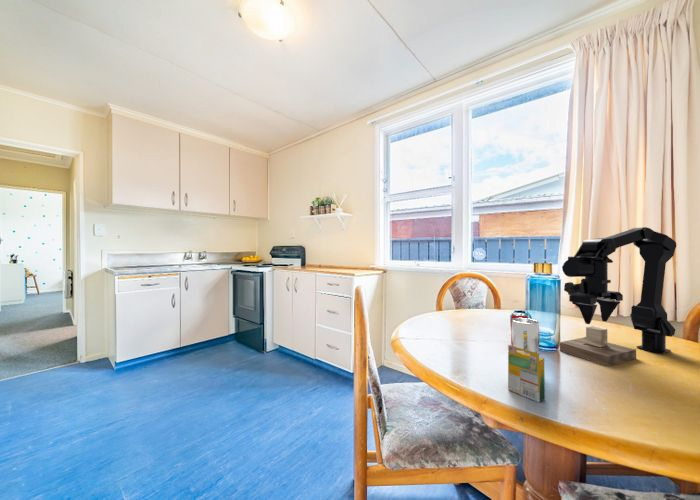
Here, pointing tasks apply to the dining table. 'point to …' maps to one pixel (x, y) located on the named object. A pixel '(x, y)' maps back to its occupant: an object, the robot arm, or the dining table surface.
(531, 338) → the white box
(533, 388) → the crayon box
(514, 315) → the beverage can
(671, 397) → the dining table surface
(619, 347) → the walnut board
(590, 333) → the maple peg
